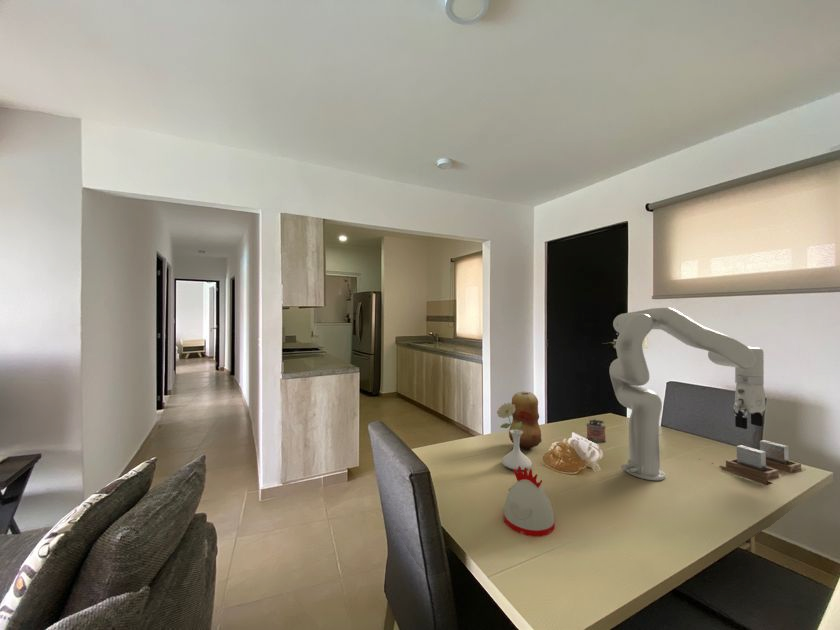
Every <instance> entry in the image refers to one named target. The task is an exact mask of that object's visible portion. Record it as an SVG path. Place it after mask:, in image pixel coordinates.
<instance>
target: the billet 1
mask: <svg viewBox="0 0 840 630" xmlns="http://www.w3.org/2000/svg"><path fill="white" fill-rule="evenodd" d="M736 458H737V463H738V464H741V465H744V466H747V467H750V468H754V469H757V470H760V471H763V472H766V452H765V451H761V450H760V449H757V448H753V447H749V446H747V445H742V444H741V445H740V444H739V445H736Z"/></svg>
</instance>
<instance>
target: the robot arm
mask: <svg viewBox="0 0 840 630" xmlns="http://www.w3.org/2000/svg"><path fill="white" fill-rule="evenodd" d="M612 322H613V323H612V326H613V328H614V330H615V331H616V333H618V336H617V339H616V342H615V350H616V356H617V358H616V359H614V360H613V361H612V362H611V363H610V366H609V370H608V371H609V377H610V381H611V384H612V388H613V391H614V395H615V397H616V399H617V401H618V402H619V404H620V405H622V406H623V407H625V408H627V409H630V410H631V413H630V416H629V418H628V419H629V420H628V451H629V452H628V454H629V455H628V456H629V457H628V459H627V462H626V463H625V464H622V465H621V466H620V468H621V470H622V471H624V472H625V471H626V473H628V475H631V476H634V477H637V478H639V479H643V480H648V481H663V480H664V479H666V473H665V472H664V471H663V470H662V469H661V460H660V458H661V457H660V456H661V455H660V453H661V452H660V451H661V449H660V420H661V419H660V418H661V413H662V408H663V405H662V404H663V402H662V399H661V397H660V396H659V395H658V394H657V393H656V392H655V391H653V390H651V389H649V388H646V387H643V386H644V385H647V383H649V381H650V371H649V368H648V365H647V361H646V358H645V354H644V349H643V348H644V347H643V344H644V340H645V339H646V338H647V336H648V335H649V334H650V333H651V331H653V330H659V331H660V330H661V331H663V332H665V333H667V334H668V335H670V336H672V337H673V338H675V339H677V340H678V341H680V342H681V343H683V344H685V345H687V346H690V347H692V348H695V349H699V350H703V351H707V357H708V360H710V361H711V362H712V363H713V364H715V365H719V366H723V367H730V368H734V370H735V371H734V375H735V377H734V378H735V379H734V383H735V391H734V393H735V394H734V403H733V405H732V407H733V413H734V417H735V420H734V421H735V425H734V426H735V427H737V428H739V429H744V430H746V429H748V417H747V415H748V413H750V424H751V425H753V426H756V427H757V426H758V427H763V425H764V421H763V420H764V419H763V418H764V412H765V411H766V409H767V407H766V393H765V392H766V391H765V388H764V385H765V384H764V382H765V381H764V374H765V373H764V367H765V366H764V365H765V364H764V359H765V357H764V356H765V355H764V349H762V348H760V347H753V346H747V345H745V344H744V343H742V342H740V341H738V340H737V339H735V338H733V337H731V336H728V335H726V334H724V333H721V332H719V331H715V330H713V329H710V328H708V327H705V326H703V325H702V324H700V323H698V322H696V321H694V319H692V318H690V317H689V316H686V315H684V314H683V313H682V312H681V311H678V310H677V309H675V308H673V307H653V308H647V309H644V310H643V309H642V310H638V311H631V312H625V313H620V314H618V315H616V317H614V319H613V321H612Z"/></svg>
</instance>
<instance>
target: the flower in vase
mask: <svg viewBox="0 0 840 630" xmlns="http://www.w3.org/2000/svg"><path fill="white" fill-rule="evenodd" d="M514 412H515V406H514V404H513V405H512V402H507V403H504V404H501V406H500V407H498V410H497V411H496V414H497V417H499V418H502V419H506V418H508V420H509V423H507V422H505V423H502V425H500V428H503V429H508V428H510V426H512V425H511V424H512V421H511V419H510V418H511V417H513V416H512V414H513V413H514ZM521 424H522V421H521V422H519V423H516V424H515V425H514V428H519V427H520V426H521ZM512 428H513V426H512ZM514 428H513V430H510V433H511V434H512V437H513V442H512V444H513V446H512V447H513V448H512V450H511V451H510V452H508V453H507V454H505V455H504V456H503V457H502V458H501V464H503V466H504V467H506V468H508V469H510V470H513V471H514V469H516V471H518V467H519V466H520V467H521V470H522V471H524V469H525V468H527V470H530V469H531V468H532V465H533V463H532V461H531V460H530V458H529V457H527V456H526V454H525V453H523V452H522V451H521V448H520V447H519V442H520V436H521V434H522V433H523V431H521V430H516V429H514Z"/></svg>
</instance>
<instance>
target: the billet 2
mask: <svg viewBox="0 0 840 630" xmlns="http://www.w3.org/2000/svg"><path fill="white" fill-rule="evenodd" d="M759 450H761V451H765V452H766V459H768V460H771V461H774V462H778V463H781V464H785V465H789V461H790V456H789V455H790V454H789V452H790V450H789V445H785V444H781V443H777V442H773V441H770V440H765V439H763V440H759Z"/></svg>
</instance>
